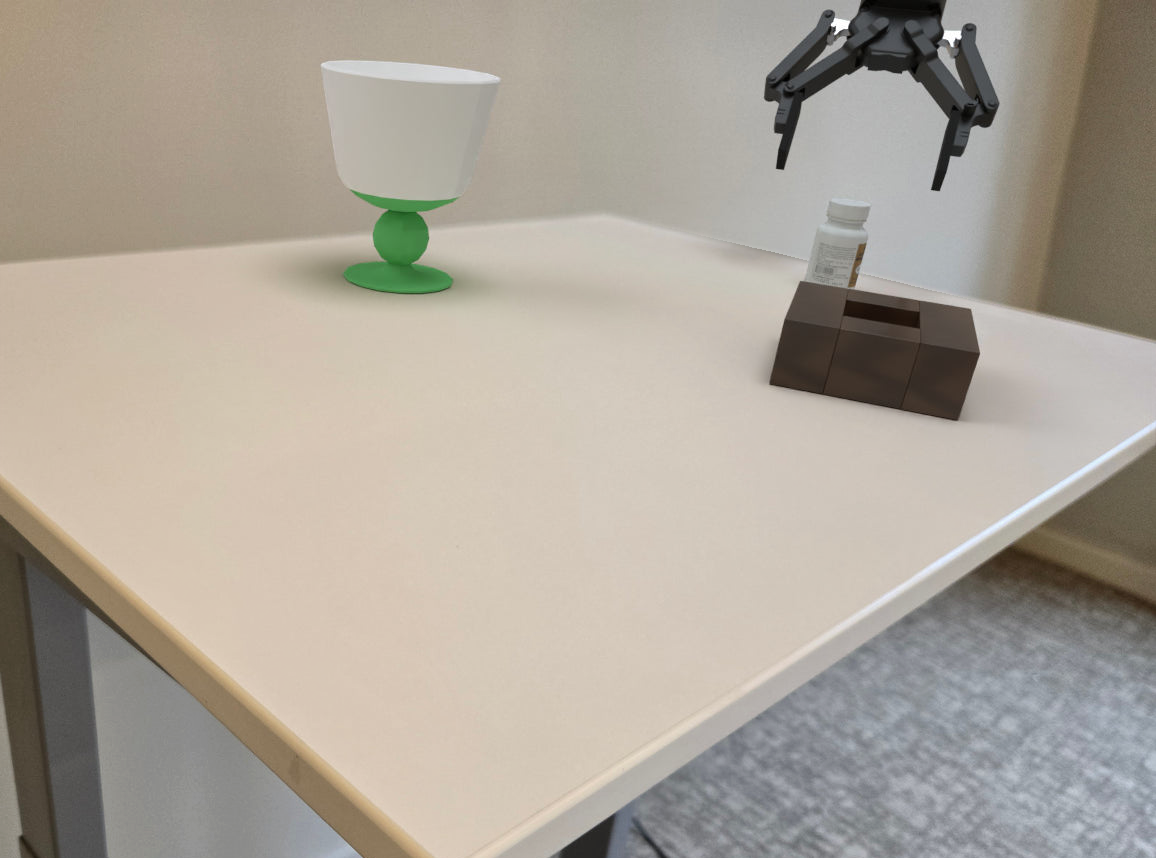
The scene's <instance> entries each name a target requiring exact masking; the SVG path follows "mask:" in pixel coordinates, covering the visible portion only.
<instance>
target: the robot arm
mask: <svg viewBox="0 0 1156 858" xmlns="http://www.w3.org/2000/svg"><path fill="white" fill-rule="evenodd" d="M947 1H948V0H860V2H859V6H858V10H857V13H856V15H855V16H854V17H853V18H852V19H851V20H848V19H842V18H836V17H835V16H836V13H835V11H834V10H833V9H826V10H824V11H823V12H822V13H821V15H820V17H819V19H818V22H817V24H816V25H815V28H814V29H812V30H811V32H810V33H808V34H807V35H806V36H805V37H804V38H803V39H802V40H801V41H800V42H799V43H798V45H796V46H795V47H794V48H793V49H792V50H791V51H790V52H789V53H788V54H787V55H786V56H785V57H784V58H783V59H782V60H781V61H780V63H778V64H777V65H776V66H775V67H774V68H773V69H772V70H771V71H770V72H769V73H768V74H767V75H766V77H765V83H764V91H763V93H764V94H763V99H764V101H765V102H768V103H771V102H775V103H777V104H778V107H777V110H776V113H775V116H774V122H773V133H774V134H778V135H782V136H781V139H780V142H779V146H778V148H777V156H776V163H775V170H780V171H785V167H786V165H787V160H788V157H789V153H790V151H791V147H792V143H793V141H794V140H793V139H794V137H795V133H796V129H797V126H798V123H799V120H800V115H801V110H802V104H803V102H805V101H806V100H807V99H809V98H811V97H813V96H814V95H815V94H817V93H818V92H821V91H822V90H824V89H825V88H826V87H828V86H830V85H832V84H833V83H834V82H836V81H837V80H839V79H840V78H842V77H844V76H845V75H847V76H851V75H852V74H854V73H855V72H857V71H858V70H860V69H862V68H863V67H865V68H867V71H871V72H883V71H886V72H889V73H892V74H898V75H902V74H903V72H908V73H909V75H910V76H911V77H912V78H913V80H914V81H915V83H918V84H919V83H921V85H922V86H923V88H925V90H926V92H927V93H928V94H929V96H931V98H932V99H933V101H935V103H936V104H937V105H938V107H939V108H940V110H941V111H942V112H943V114H944V115H945V116H946V117H947V119H948V121H947V124H946V127H945V130H944V134H943V138H942V141H941V142H942V143H941V146H940V151H939V154H938V159H937V162H936V163H937V164H936V166H935V171H934V174H933V179H932V183H931V187H930V191H934V192H941V189H942V186H943V183H944V180H945V178H946V175H947V173H948V169H949V164H950V160H951V157H955V158H961V157H962V156H963V155H964V154H965V150H966V148H967V145H968V142H969V138H970V135H971V130H972V128H973V127H977V126H978V127H980V128H983V129H987V128H990V127H991V126H992V124H993V123H994V120H995V117H996V115H997V113H998V110H999V107H1000V103H1001V102H1000V99H999V98H998V95H997V93H996V90H995V87H994V85H993V82H992V80H991V78H990V75H989V72H988V70H987V68H986V65H985V63H984V61H983V58H982V55H981V54H980V50H979V48H978V46H977V43H976V41H977V29H978V28H977V25H976V24H974V23H973V22H968V23H965V24H964V25H962V28H961V30H945V29H944V27H943V25H942V24H943V23H942V20H943V16H944V13H945V8H946V5H947ZM841 37H842V38H843V37H846V41H845V42H844V43H842V44H843V45H842V46H841V47H839V48H838V49H837V50H835V51H833V52H832V53H830V54H828V55H827V56H825V57H824V58H822V59H821V60H819V61H817V62H816V63H814V62H815V61H816V60H817V59H818V58H819V57H820V56H821V55H822V54H823V53H824V51H825V49H826V48H827V46H829V47H831V46H833V45H834V43H835V42H836V41H838V39H839V38H841ZM940 47H943V48H945V49H946V50H947V53H948V55H949V58H950V59H951V60H953V59H954V65H955V70H956V72H957V74H958V77H959V80H960V82H961V84H962V85H961V84H960V83H959V81H958V80H957V78H956V77H955V76H954V75H953V74H952V72H951V71H950V69H948V67H947V65H945V64H944V62H943V60H942V59H941V58H940V57H939V52H938V49H940ZM813 63H814V64H813ZM812 64H813V65H812ZM811 65H812V66H811Z"/></svg>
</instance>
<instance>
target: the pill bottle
mask: <svg viewBox="0 0 1156 858" xmlns="http://www.w3.org/2000/svg"><path fill="white" fill-rule="evenodd" d="M870 211H871V204H870V203H869V202H865V201H862V200H857V199H851V198H843V197H833V198H830V199H829V201H828V206H827V210H826V213H827V214H826V217H827V221H826V222H823V223H821V224H820V225H818V226H817V228H816V232H815V236H814V239H813V244H812V248H811V252H810V256H809V261H808V264H807V268H806V272H805V277H804V281H805V282H811V283H817V284H823V285H829V286H835V287H841V288H847V289H854V290H856V285H857V282H858V277H859V274H860V270H861V266H862V262H863V259H864V255H865V253H866V252H865V251H866V248H867V243H868V240H869V232H868V230H867V229H866V228H864V223H866V222H868V221H867V220H868V218H869V215H870Z"/></svg>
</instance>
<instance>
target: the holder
mask: <svg viewBox="0 0 1156 858" xmlns="http://www.w3.org/2000/svg"><path fill="white" fill-rule="evenodd" d="M780 332H781V333H780V336H779V340H778V344H777V349H776V352H775V357H774V361H773V365H772V369H771V373H770V378H769V382H768V383H769V385H774V386H779V387H784V388H790V389H795V390H799V391H805V392H810V393H815V394H820V395H822V394H823V395H825V396H831V397H836V398H841V399H847V400H851V401H856V402H860V403H861V402H862V403H867V404H872V405H878V406H883V407H887V408H893V409H899V410H903V411H907V412H912V413H913V412H914V413H919V414H922V415H923V414H924V415H929V416H934V417H940V418H945V419H949V420H955V421H959V420H960V416H961V413H962V410H963V407H964V404H965V401H966V398H967V395H968V392H969V389H970V386H971V383H972V379H973V377H974V374H975V371H976V367H977V365H978V362H979V359H980V356H981V351H980V346H979V341H978V336H977V330H976V326H975V321H974V315H973V311H972V308H969V307H963V306H957V305H950V304H945V303H938V302H932V301H926V300H919V299H914V298H908V297H902V296H896V295H890V294H883V293H878V292H871V291H864V290H860V289H847V288H841V287H835V286H829V285H823V284H817V283H811V282H805V280H800V281H799V283H798V285H797V287H796V290H795V292H794V295H793V297H792V299H791V302H790V305H789V307H788V309H787V312H786V314H785V317H784V320H783V324H782V327H781V331H780Z"/></svg>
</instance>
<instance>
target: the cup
mask: <svg viewBox="0 0 1156 858" xmlns="http://www.w3.org/2000/svg"><path fill="white" fill-rule="evenodd" d="M319 66H320V72H321V80H322V86H323V93H324V98H325V105H326V112H327V118H328V124H329V130H330V136H331V137H330V138H331V142H332V143H331V144H332V149H333V157H334V163H335V169H336V170H335V171H336V173H337V175H338V176H339V178H340V180H341V182H342V184H343V185H344V186H345V187H346V188H347V189H348V190H349V191H350V192H351V193H353V195H354V196H356V197H357V198H359V199H361V200H362V201H365V202H366V203H367V204H370V205H372V206H373V207H376V208H379V209H384V210H386V211H384V212H383V213H382V214H381V215H380V217H379V218H378V219H377V221H376V222H375V223H374V226H373V231H372V243H373V247H374V248H375V250H376V252H377V253H378V256H380V258H381V259H383V260H384V261H369V262H359V263H356V264H353V265H350V266H348V267H347V268H345V270H344V271H343V274H342V275H343V276H344V277H345V279H346V280H347V281H348V282H349V283H351V284H353V285H356V286H358V287H361V288H365V289H370V290H374V291H379V292H387V293H395V294H426V293H435V292H440V291H443V290H446V289H449V288H450V287H451V286H452V285H453V282H454V279H453V277H451V276H450V274H448V273H447V272H446V271H443V270H440V269H438V268H436V267H432V266H427V265H424V264H423V265H422V264H418V263H415V262H417V261H420V258H421V257H422V256H423V255H424V253H425V252H426V250H427V248H428V244H429V240H430V235H429V233H430V232H429V226H428V225H427V223H426V221H425V219H424V217H423V216H422V215H420V213H421V212H423V213H424V212H430V211H433V210H437V209H439V208H442V207H444V206H447V205H449V204H451V203H452V204H453V202H455V201H456V200H458V199H460V198H461V197H462V196H463V194H465V192H466V191H467V190H468V187H470V185H471V184H472V182H473V178H474V175H475V172H476V168H477V164H478V161H479V157H480V154H481V151H482V148H483V147H482V146H483V144H484V139H485V136H486V133H487V129H488V126H489V122H490V119H491V115H492V111H493V108H494V105H495V101H496V98H497V95H498V92H499V87H500V85H501V81H502V79H501V77H500V76H496V75H493V74H491V73H487V72H483V71H476V70H473V69H465V68H458V67H449V66H441V65H434V64H423V63H413V62H412V63H411V62H400V61H399V62H398V61H382V60H357V59H355V60H354V59H344V60H343V59H342V60H341V59H340V60H327V61H324V62H322V63H321V64H320V65H319Z"/></svg>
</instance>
